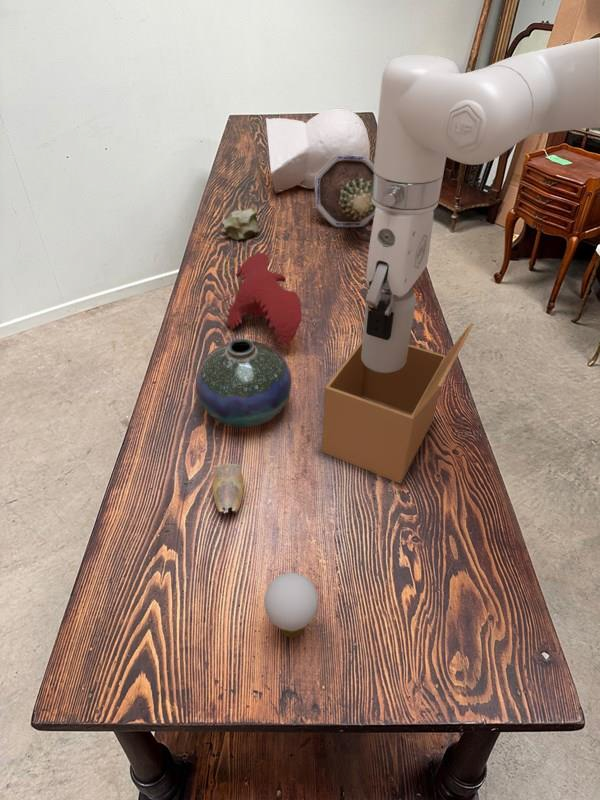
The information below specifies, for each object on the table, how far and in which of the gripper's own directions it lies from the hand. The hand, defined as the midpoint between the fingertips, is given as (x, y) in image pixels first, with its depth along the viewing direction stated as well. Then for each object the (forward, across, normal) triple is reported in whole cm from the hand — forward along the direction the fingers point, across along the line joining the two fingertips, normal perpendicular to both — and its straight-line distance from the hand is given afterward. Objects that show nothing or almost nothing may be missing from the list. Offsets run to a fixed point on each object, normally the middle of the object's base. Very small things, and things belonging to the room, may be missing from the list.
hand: (388, 321), depth 72 cm
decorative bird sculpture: (+22, +18, +33) cm, 44 cm away
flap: (+5, 0, -8) cm, 10 cm away
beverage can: (+7, 0, 0) cm, 7 cm away
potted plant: (+22, +66, +35) cm, 78 cm away
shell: (+22, -22, +13) cm, 34 cm away
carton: (+22, 0, -1) cm, 22 cm away
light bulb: (+22, -34, -4) cm, 41 cm away
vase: (+22, -5, +21) cm, 31 cm away
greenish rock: (+22, +49, +57) cm, 78 cm away
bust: (+22, +86, +54) cm, 104 cm away
